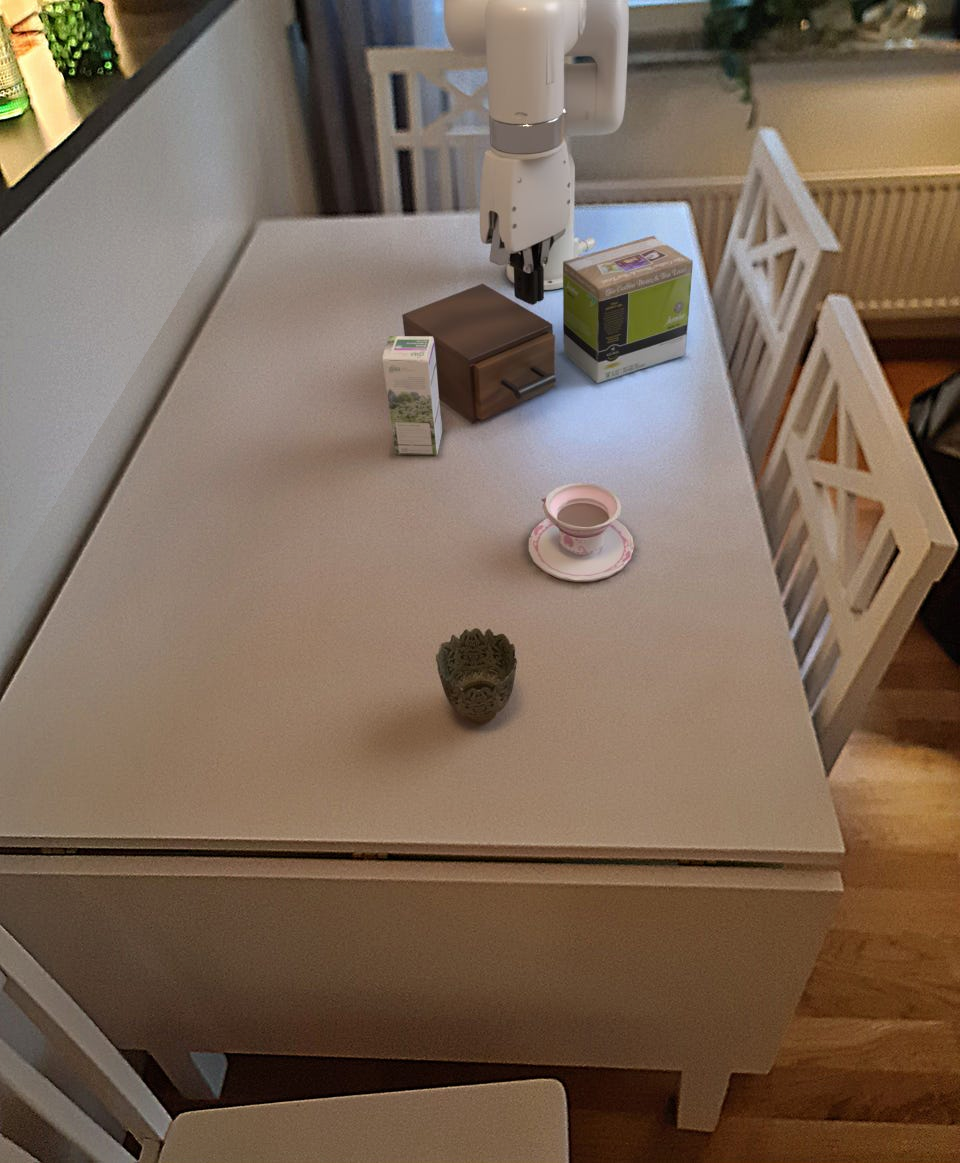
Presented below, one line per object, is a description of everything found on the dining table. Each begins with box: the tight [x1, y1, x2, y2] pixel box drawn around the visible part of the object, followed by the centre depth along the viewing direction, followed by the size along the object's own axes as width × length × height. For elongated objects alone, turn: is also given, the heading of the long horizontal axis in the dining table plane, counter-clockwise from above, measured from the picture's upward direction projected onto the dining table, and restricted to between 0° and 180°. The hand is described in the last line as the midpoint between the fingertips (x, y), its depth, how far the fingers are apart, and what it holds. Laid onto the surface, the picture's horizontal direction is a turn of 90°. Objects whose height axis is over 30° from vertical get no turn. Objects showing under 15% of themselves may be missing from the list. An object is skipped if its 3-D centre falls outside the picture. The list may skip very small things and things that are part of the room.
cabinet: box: [401, 283, 554, 424], centre depth 132 cm, size 16×14×10 cm
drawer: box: [473, 332, 557, 421], centre depth 129 cm, size 19×13×8 cm, turn 36°
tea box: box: [562, 235, 694, 384], centre depth 133 cm, size 15×10×15 cm
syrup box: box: [381, 335, 443, 456], centre depth 120 cm, size 6×6×14 cm
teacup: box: [528, 482, 635, 583], centre depth 106 cm, size 12×12×6 cm
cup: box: [435, 627, 518, 724], centre depth 89 cm, size 8×7×8 cm
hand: (529, 298), depth 109 cm, fingers closed
